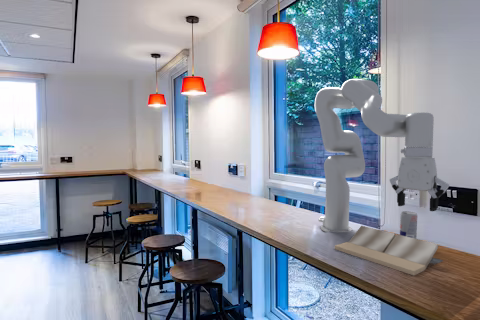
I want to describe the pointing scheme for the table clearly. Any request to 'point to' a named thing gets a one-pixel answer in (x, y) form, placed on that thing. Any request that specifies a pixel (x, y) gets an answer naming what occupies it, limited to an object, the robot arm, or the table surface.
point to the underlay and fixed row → (384, 258)
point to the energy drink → (408, 224)
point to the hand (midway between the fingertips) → (416, 208)
